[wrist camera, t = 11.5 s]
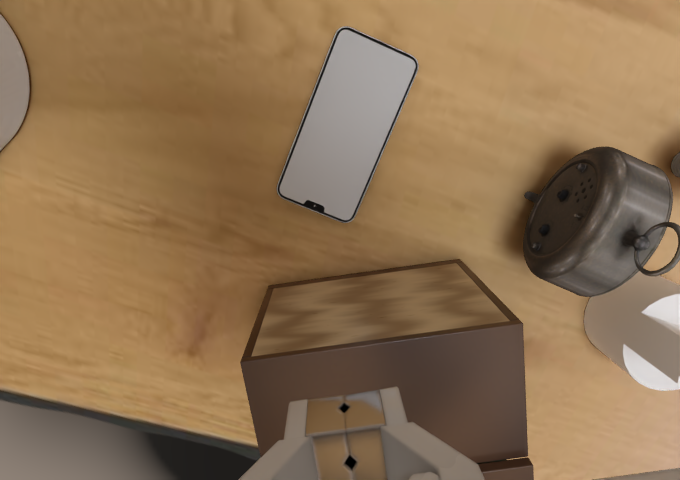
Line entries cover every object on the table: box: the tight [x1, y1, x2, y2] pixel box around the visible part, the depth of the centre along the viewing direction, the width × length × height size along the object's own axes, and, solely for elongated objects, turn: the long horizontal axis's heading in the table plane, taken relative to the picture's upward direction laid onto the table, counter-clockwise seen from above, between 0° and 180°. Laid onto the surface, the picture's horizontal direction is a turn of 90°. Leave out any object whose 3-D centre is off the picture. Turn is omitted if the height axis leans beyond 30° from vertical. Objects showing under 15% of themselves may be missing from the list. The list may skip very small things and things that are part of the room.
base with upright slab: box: [584, 271, 680, 391], centre depth 38 cm, size 9×9×12 cm
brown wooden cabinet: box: [240, 259, 534, 480], centre depth 36 cm, size 18×12×15 cm, turn 98°
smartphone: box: [277, 26, 418, 223], centre depth 38 cm, size 7×1×15 cm
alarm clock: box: [523, 147, 680, 297], centre depth 33 cm, size 11×5×16 cm, turn 157°
